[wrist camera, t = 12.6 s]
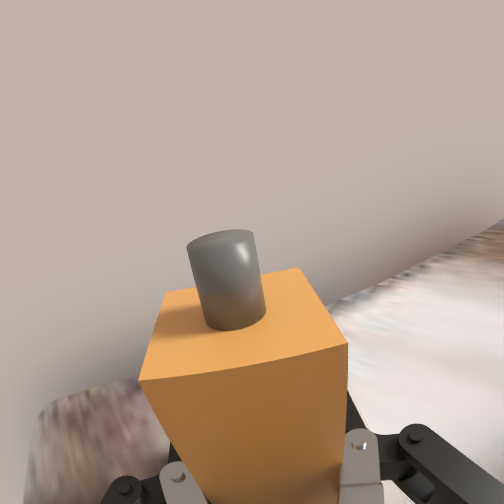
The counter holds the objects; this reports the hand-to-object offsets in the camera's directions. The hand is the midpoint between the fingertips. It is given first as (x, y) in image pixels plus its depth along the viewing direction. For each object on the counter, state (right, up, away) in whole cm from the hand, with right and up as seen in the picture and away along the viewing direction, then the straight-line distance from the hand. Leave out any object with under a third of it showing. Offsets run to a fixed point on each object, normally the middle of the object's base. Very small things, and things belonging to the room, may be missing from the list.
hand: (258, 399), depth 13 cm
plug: (+2, -8, 0) cm, 8 cm away
